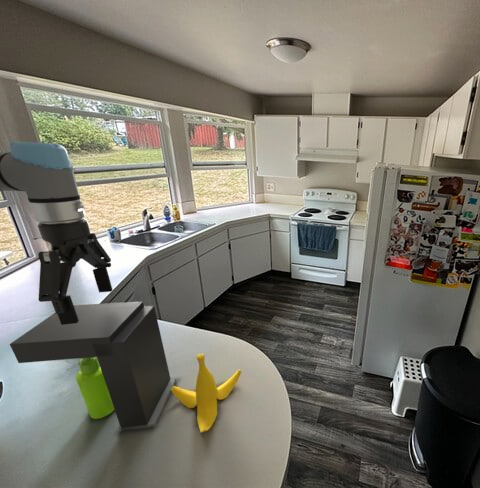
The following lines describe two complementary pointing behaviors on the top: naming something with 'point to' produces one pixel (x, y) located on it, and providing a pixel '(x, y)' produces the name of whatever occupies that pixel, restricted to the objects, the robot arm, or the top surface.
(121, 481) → the top surface
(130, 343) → the coffee maker
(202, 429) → the banana peel
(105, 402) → the soap dispenser
